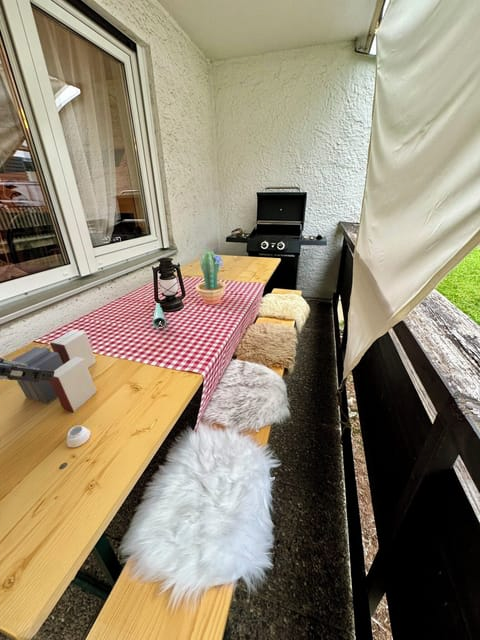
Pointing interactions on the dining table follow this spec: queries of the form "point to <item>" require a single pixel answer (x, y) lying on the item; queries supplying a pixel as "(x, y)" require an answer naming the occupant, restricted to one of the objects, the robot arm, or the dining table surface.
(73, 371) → the ivory book
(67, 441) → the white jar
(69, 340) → the ivory books
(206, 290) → the potted cactus
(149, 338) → the dining table surface
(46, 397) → the grey books
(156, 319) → the long green cone
